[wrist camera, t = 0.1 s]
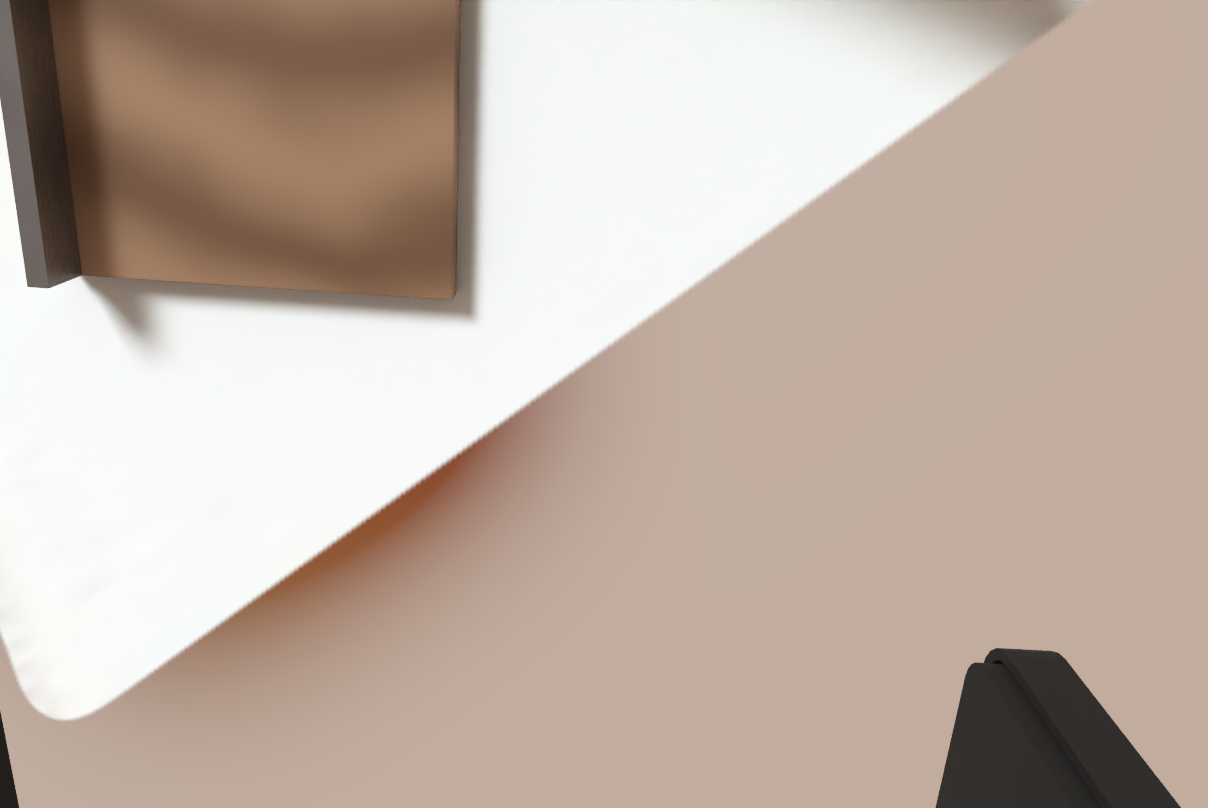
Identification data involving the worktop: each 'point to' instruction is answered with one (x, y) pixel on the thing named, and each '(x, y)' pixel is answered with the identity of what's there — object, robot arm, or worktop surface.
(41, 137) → the rail
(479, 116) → the worktop surface
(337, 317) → the worktop surface
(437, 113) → the shelf board
